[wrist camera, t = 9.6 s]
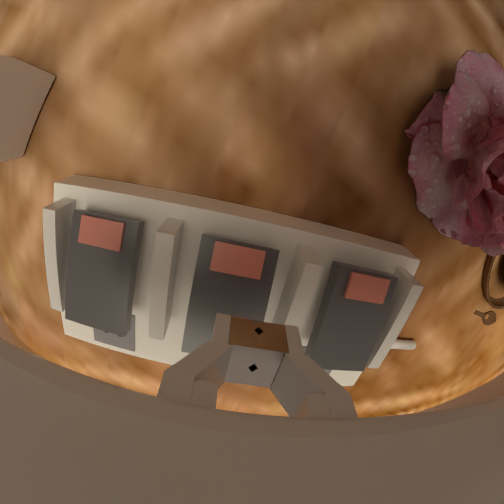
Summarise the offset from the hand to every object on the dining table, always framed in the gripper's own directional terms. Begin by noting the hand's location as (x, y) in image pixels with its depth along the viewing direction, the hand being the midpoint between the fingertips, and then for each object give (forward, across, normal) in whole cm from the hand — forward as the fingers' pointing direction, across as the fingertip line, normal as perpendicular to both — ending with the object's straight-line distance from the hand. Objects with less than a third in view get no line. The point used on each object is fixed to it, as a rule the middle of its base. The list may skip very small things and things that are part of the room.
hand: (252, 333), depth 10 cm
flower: (+12, -15, -11) cm, 22 cm away
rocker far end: (+7, +9, +3) cm, 12 cm away
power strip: (+11, -3, +5) cm, 12 cm away
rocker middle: (+7, +1, +3) cm, 8 cm away
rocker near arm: (+7, -7, +3) cm, 11 cm away
